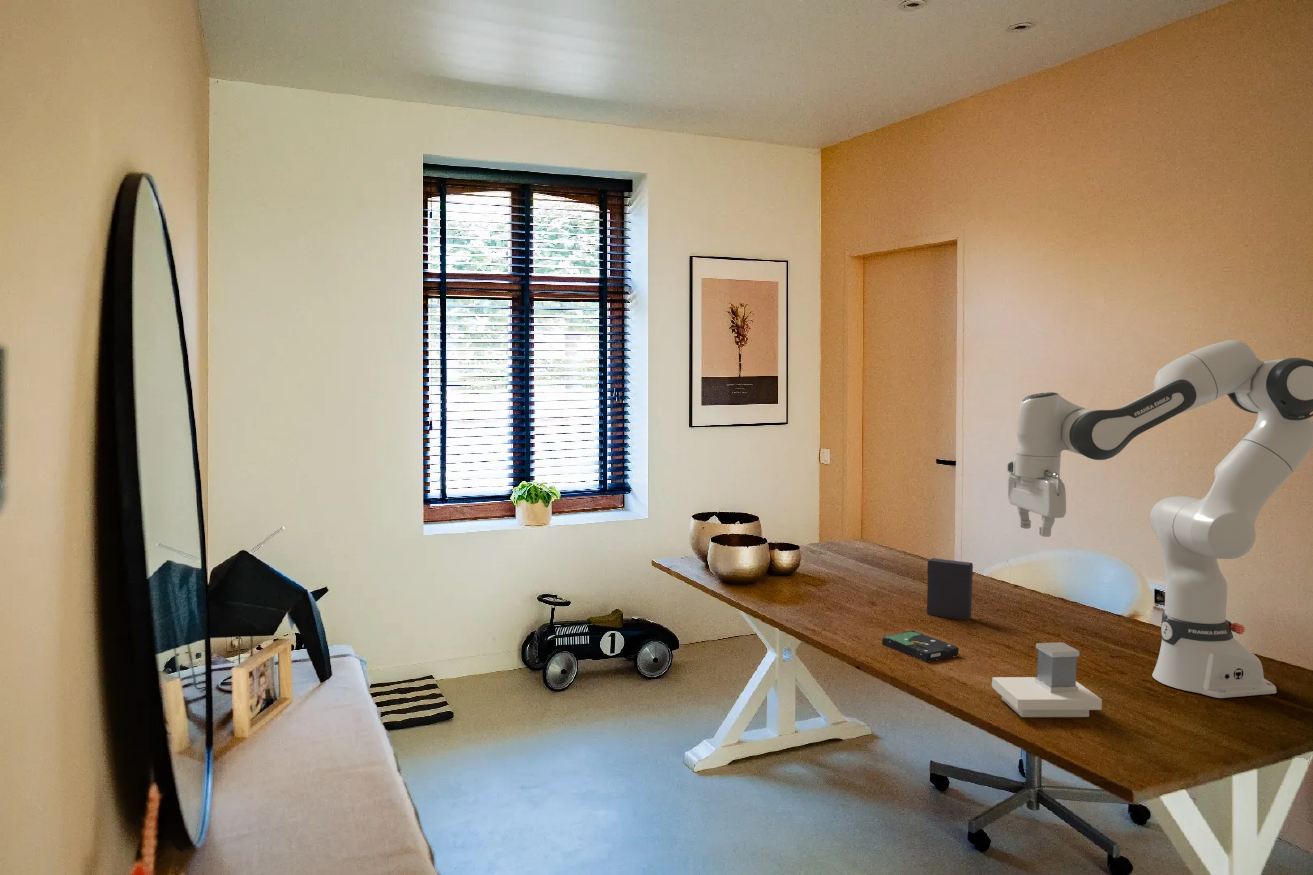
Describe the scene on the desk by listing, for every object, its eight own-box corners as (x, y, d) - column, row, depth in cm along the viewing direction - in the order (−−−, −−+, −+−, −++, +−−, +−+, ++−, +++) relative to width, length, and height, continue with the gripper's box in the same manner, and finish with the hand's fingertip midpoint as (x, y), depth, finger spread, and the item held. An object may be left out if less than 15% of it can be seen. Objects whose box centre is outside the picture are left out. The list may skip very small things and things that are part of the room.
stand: (1069, 696, 178) (1070, 677, 177) (1100, 719, 166) (1101, 699, 165) (991, 696, 177) (992, 677, 177) (1017, 720, 165) (1017, 699, 165)
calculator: (971, 617, 234) (973, 562, 233) (967, 621, 231) (969, 565, 230) (930, 611, 240) (932, 557, 239) (925, 614, 237) (927, 560, 235)
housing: (1060, 681, 175) (1062, 642, 174) (1077, 691, 169) (1079, 651, 169) (1034, 682, 174) (1036, 643, 173) (1050, 692, 169) (1052, 652, 168)
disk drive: (959, 658, 203) (912, 640, 216) (959, 646, 202) (913, 629, 216) (926, 665, 198) (880, 646, 211) (926, 653, 198) (881, 634, 211)
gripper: (1076, 474, 178) (1073, 541, 179) (1031, 463, 198) (1028, 523, 199) (1045, 473, 178) (1042, 541, 179) (1003, 463, 198) (1001, 523, 199)
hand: (1034, 532), depth 189 cm, fingers open, 8 cm apart
